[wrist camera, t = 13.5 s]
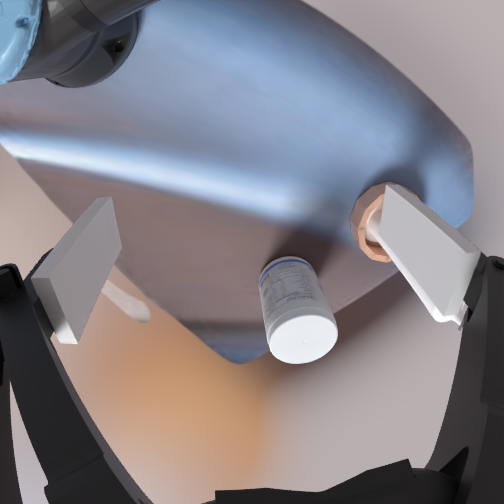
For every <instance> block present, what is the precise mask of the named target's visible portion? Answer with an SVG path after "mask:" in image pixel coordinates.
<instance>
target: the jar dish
mask: <svg viewBox="0 0 504 504" xmlns="http://www.w3.org/2000/svg"><path fill="white" fill-rule="evenodd" d="M386 185H399V184H396V183H393V182H390V181H389V182H386V183H382V184H378V185H374V186H371V187H370V188H369V189H368V190H367V191H366V192H365V193H364V194H363V195H362V196H360V197H359V198H358V199H357V200H356V203H355V206H354V208H353V211H352V213H351V216H350V218H349V219H350V226H351V233H352V237H353V238H354V240H355V241H356V243H357V244H358V245H359V247H360V248H361V249H362V250H363V251H364V252H365V253H366V254H367V255H368V257H369V258H370V259H373V260H378V261H383V262H389V261H392V259H391V258H390V256H389V255H388V254H387V252H386V251H385V250H384V249H383V247H382V246H381V245H380V243H379V242H372V241H369V240H367V239H366V238H365V233H364V228H365V225H366V223H367V220H368V218H369V215H370V213H371V212H372V211H373V210H374V209H375V208H376V207H377V206H378V205H379V204H380V203H381V202H383V201H384V196H385V189H386ZM400 186H401V185H400ZM401 187H403V188H404V189H405V190H407V191H408V192H409V193H411V194H412V195H413V196H415V197H416V198H417V199H419V198H418V197H417V195H416V194H414V193H413V192H412V191H410V190H409V189H408V188H406V187H404V186H401Z"/></svg>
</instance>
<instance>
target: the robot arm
mask: <svg viewBox="0 0 504 504" xmlns="http://www.w3.org/2000/svg"><path fill="white" fill-rule="evenodd" d="M158 1H160V0H0V85H3V83H7V82H12V81H19V80H27V79H35V78H46V79H47V80H48V81H50V82H51V83H53V84H55V85H57V86H61V87H66V88H79V87H86V86H90V85H94V84H96V83H98V82H101V81H103V80H104V79H106V78H108V77H109V76H110V75H112V74H113V73H114V72H115V71H116V70H117V69H118V68H119V67H120V66H121V65H122V64H123V63H124V61H125V60H126V59H127V57H128V56H129V54H130V52H131V50H132V48H133V46H134V43H135V40H136V36H137V30H138V20H137V14H136V12H137V11H139V10H141V9H143V8H145V7H147V6H149V5H151V4H153V3H155V2H158ZM378 235H379V236H380V237H381V238H382V239H383V240H384V242H385V243H386V244H387V245H388V246H389V248H390V249H391V250H392V251H393V252H394V254H395V255H396V256H397V257H398V258H399V260H400V261H401V262H402V263H403V265H404V266H405V267H406V268H407V270H408V271H409V272H410V273H411V275H412V276H413V277H414V278H415V280H416V281H417V282H418V284H419V285H420V286H421V287H422V289H423V290H424V291H425V293H426V294H427V295H428V297H429V298H430V299H431V301H432V302H433V303H434V305H435V306H436V307H437V309H438V310H439V311H440V313H441V314H442V316H443V317H445V316H449V315H454V314H458V312H459V310H460V307H461V305H462V303H463V301H464V302H465V303H466V304H467V306H468V308H467V311H466V313H465V315H464V317H463V320H462V322H461V324H460V326H459V328H458V330H461V328H462V327H463V331H462V338H461V344H460V350H459V356H458V361H457V366H456V371H455V375H454V380H453V384H452V389H451V393H450V397H449V401H448V405H447V409H446V412H445V416H444V420H443V423H442V426H441V430H440V433H439V436H438V439H437V442H436V445H435V448H434V451H433V454H432V456H431V458H430V460H429V462H428V463H427V465H426V466H425V468H412V467H411V465H410V462H409V459H405V460H402V461H398V462H395V463H392V464H388V465H385V466H382V467H378V468H375V469H370V470H367V471H365V472H363V473H361V474H359V475H357V476H355V477H353V478H351V479H349V480H347V481H345V482H343V483H340V484H338V485H336V486H334V487H332V488H330V489H327V490H325V491H322V492H305V491H291V490H281V489H271V488H259V489H243V490H221V491H220V490H219V491H218V490H217V491H215V500H213V501H209V502H205V503H202V504H504V259H503V258H501V257H497V256H489V257H486V256H485V255H484V254H483V253H482V252H481V251H480V250H479V249H478V248H476V246H474V245H473V244H472V243H471V242H470V241H469V240H468V239H466V238H465V237H464V236H463V235H462V234H461V233H459V232H458V231H457V230H456V229H455V228H453V227H452V226H451V225H450V224H449V223H447V222H446V221H445V220H444V219H443V218H441V217H440V216H439V215H438V214H436V213H435V212H434V211H433V210H431V209H430V208H429V207H428V206H426V205H425V204H424V203H422V202H421V201H420V200H419V199H417V198H416V197H415V196H413V195H412V194H411V193H409V192H408V191H407V190H405V189H404V188H403V187H401V186H400V185H386V189H385V196H384V203H383V209H382V216H381V222H380V228H379V233H378ZM121 249H122V245H121V241H120V237H119V232H118V227H117V223H116V218H115V213H114V208H113V202H112V197H111V196H109V197H100V198H96V199H95V201H94V202H93V203H92V204H91V205H90V206H89V207H88V208H87V209H86V211H85V212H84V213H83V214H82V215H81V216H80V217H79V218H78V220H77V221H76V222H75V223H74V224H73V225H72V227H71V228H70V229H69V230H68V231H67V233H66V234H65V235H64V236H63V237H62V238H61V240H60V241H59V242H58V243H57V245H56V246H55V247H54V248H52V249H51V250H49V251H48V252H47V253H45V254H44V255H43V256H42V257H41V259H40V260H39V261H38V263H37V264H36V265H35V266H34V268H33V269H32V270H31V271H30V273H29V274H28V275H27V277H26V278H25V279H24V281H23V280H22V277H21V275H20V272H19V270H18V267H17V266H16V265H15V264H12V263H10V264H5V265H2V266H0V504H23V502H22V498H21V493H20V488H19V483H18V477H17V471H16V464H15V457H14V448H13V440H12V429H11V414H10V382H11V385H12V388H13V392H14V395H15V399H16V402H17V404H18V408H19V411H20V414H21V417H22V420H23V422H24V425H25V428H26V430H27V433H28V436H29V438H30V441H31V443H32V446H33V448H34V451H35V453H36V455H37V458H38V460H39V462H40V465H41V467H42V469H43V471H44V473H45V475H46V478H47V480H48V485H47V486H45V487H44V491H45V495H46V498H47V500H48V503H49V504H153V503H152V501H151V500H150V499H149V498H148V497H147V496H146V495H145V494H144V492H143V491H142V490H141V489H140V487H139V486H138V485H137V484H136V483H135V481H134V480H133V478H132V477H131V476H130V474H129V473H128V472H127V471H126V469H125V468H124V466H123V465H122V464H121V462H120V461H119V459H118V458H117V457H116V455H115V454H114V452H113V451H112V449H111V448H110V446H109V445H108V443H107V442H106V440H105V439H104V437H103V436H102V434H101V433H100V431H99V430H98V428H97V426H96V425H95V423H94V421H93V420H92V418H91V416H90V415H89V413H88V411H87V409H86V408H85V406H84V404H83V403H82V401H81V399H80V397H79V395H78V394H77V392H76V390H75V388H74V386H73V384H72V382H71V380H70V378H69V376H68V375H67V373H66V371H65V369H64V367H63V364H62V362H61V360H60V358H59V356H58V354H57V352H56V350H55V348H54V345H53V343H52V342H51V340H50V337H51V336H52V333H53V332H55V334H56V336H57V338H58V339H59V341H60V343H70V344H78V343H79V340H80V338H81V335H82V333H83V330H84V328H85V326H86V323H87V321H88V319H89V316H90V314H91V312H92V310H93V307H94V305H95V303H96V301H97V298H98V296H99V294H100V292H101V290H102V288H103V286H104V283H105V281H106V279H107V277H108V275H109V273H110V271H111V269H112V267H113V265H114V263H115V261H116V259H117V257H118V255H119V253H120V251H121Z"/></svg>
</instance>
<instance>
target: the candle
mask: <svg viewBox="0 0 504 504" xmlns="http://www.w3.org/2000/svg"><path fill="white" fill-rule="evenodd" d="M383 203H384V201H383V202H381V203H380V204H379V205H378V206H377V207H376V208H375V209H374V210H373V211H372V212H371V213H370V215H369V218H368V220H367V223H366V225H365V228H364V233H365V238H366V239H367V240H369V241H372V242H379V243H380V245H381V246H382V247H383V249H384V250H385V251H386V252H387V254H388V255H389V256H390V258H391V259H392V260H393V262H394V263H395V264H396V266H397V267H398V268H399V270H400V271H401V272H402V274H403V275H404V276H405V278H406V279H407V281H408V282H409V283H410V285H411V286H412V288H413V289H414V290H415V292H416V293H417V295H418V296H419V298H420V299H421V300H422V302H423V303H424V305H425V306H426V308H427V309H428V311H429V312H430V314H431V315H432V316H433V318H434V319H435V320H436V321H438V322H446V321H449V320H453V321H455V322H456V323H458V324H459V325H460V324H461V322H462V320H463V315H462V309H463V307H464V305H465V302H464V301H463V303H462V305H461V307H460V310H459V312H458V314H454V315H449V316H445V317H443V316H442V314H441V313H440V311H439V310H438V309H437V307H436V306H435V305H434V303H433V302H432V301H431V299H430V298H429V297H428V295H427V294H426V293H425V291H424V290H423V289H422V287H421V286H420V285H419V284H418V282H417V281H416V280H415V278H414V277H413V276H412V275H411V273H410V272H409V271H408V270H407V268H406V267H405V266H404V265H403V263H402V262H401V261H400V260H399V258H398V257H397V256H396V255H395V254H394V252H393V251H392V250H391V249H390V248H389V246H388V245H387V244H386V243H385V242H384V240H383V239H382V238H381V237H380V236H379V235H378V233H379V228H380V222H381V216H382V209H383ZM462 328H463V327H462Z"/></svg>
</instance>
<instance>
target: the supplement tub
mask: <svg viewBox="0 0 504 504" xmlns="http://www.w3.org/2000/svg"><path fill="white" fill-rule="evenodd" d="M259 290H260V296H261V303H262V309H263V316H264V322H265V329H266V335H267V341H268V344H269V347H270V350H271V352H272V354H273V355H274V356H275V357H276V358H278V359H279V360H281V361H284V362H287V363H294V364H298V363H306V362H311V361H313V360H316V359H318V358H320V357H322V356H323V355H325V354H326V353H327V352H328V351H329V350H331V348H332V347H333V346H334V344H335V342H336V340H337V336H338V330H337V326H336V322H335V319H334V317H333V314H332V311H331V309H330V306H329V304H328V302H327V299H326V297H325V295H324V292H323V290H322V288H321V285H320V283H319V280H318V278H317V276H316V273H315V271H314V269H313V268H312V266H311V265H310V264H309V263H308V262H307V261H305V260H304V259H301V258H298V257H293V256H287V257H281V258H278V259H276V260H274V261H272V262H271V263H269V264H268V265H267V266H266V267H265V268H264V270H263V271H262V273H261V275H260V278H259Z"/></svg>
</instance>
